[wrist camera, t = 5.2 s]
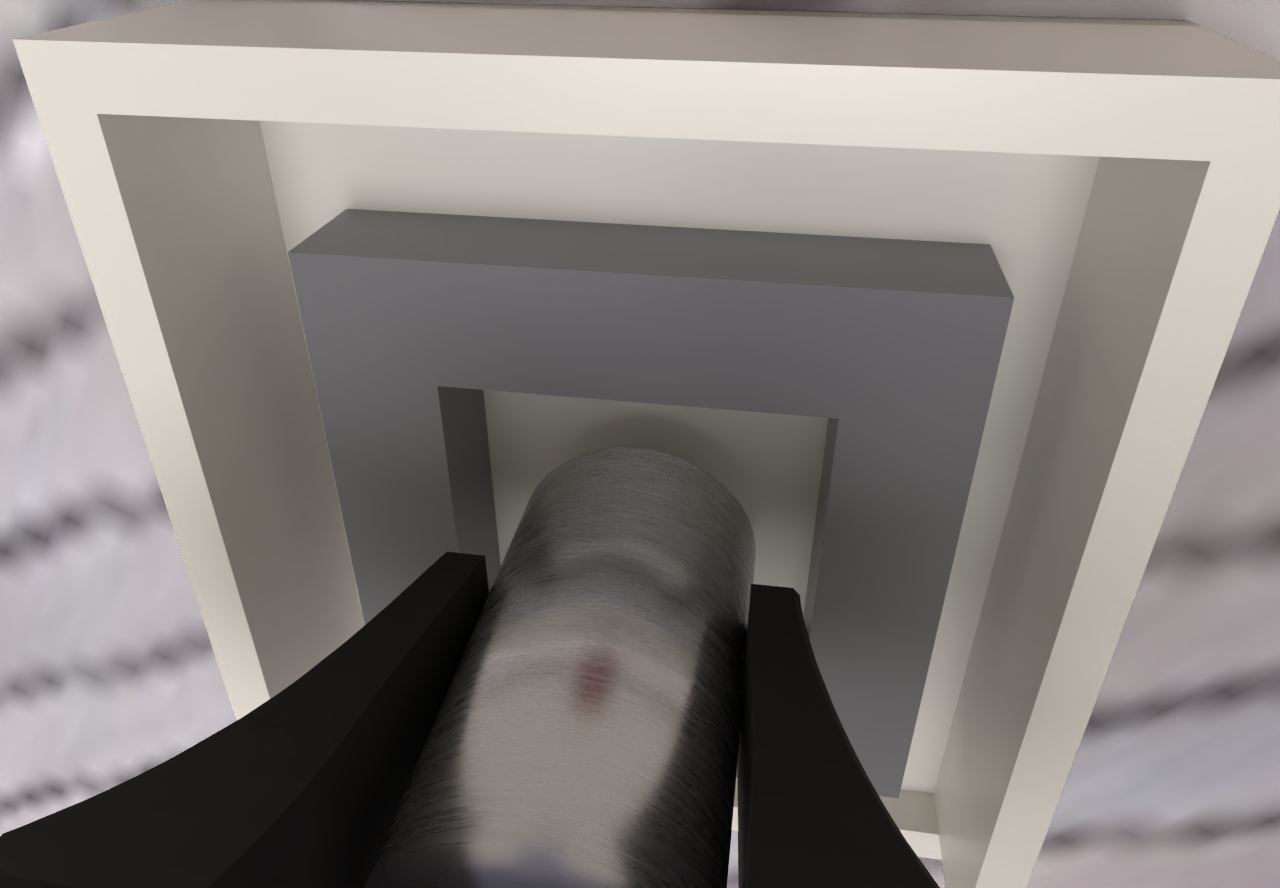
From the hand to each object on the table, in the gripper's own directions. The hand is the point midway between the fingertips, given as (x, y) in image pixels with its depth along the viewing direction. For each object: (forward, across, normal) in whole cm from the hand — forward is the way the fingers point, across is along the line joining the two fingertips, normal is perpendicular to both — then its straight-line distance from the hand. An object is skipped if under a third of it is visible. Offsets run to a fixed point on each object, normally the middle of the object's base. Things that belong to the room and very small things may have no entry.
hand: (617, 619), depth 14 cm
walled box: (+4, 0, 0) cm, 4 cm away
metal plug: (+2, 0, 0) cm, 2 cm away
